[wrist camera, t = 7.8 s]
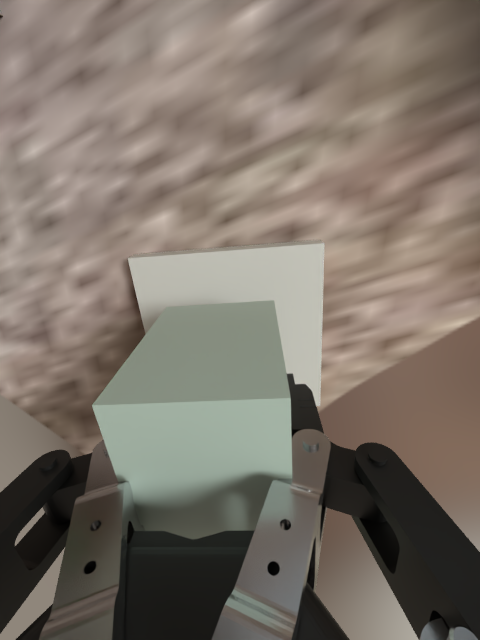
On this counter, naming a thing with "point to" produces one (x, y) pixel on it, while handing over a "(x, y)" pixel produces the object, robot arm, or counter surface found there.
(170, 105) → the counter surface
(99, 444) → the robot arm
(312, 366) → the stub plate
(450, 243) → the counter surface
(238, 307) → the block
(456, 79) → the counter surface
